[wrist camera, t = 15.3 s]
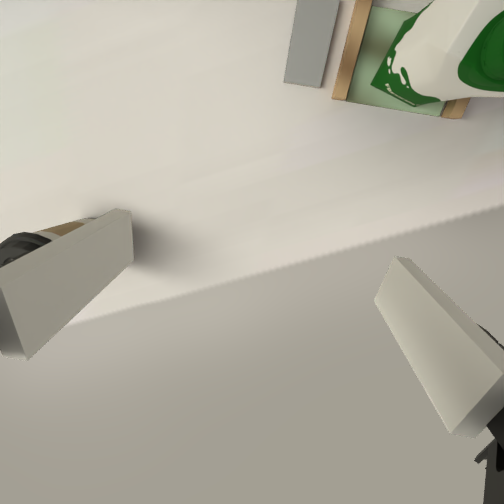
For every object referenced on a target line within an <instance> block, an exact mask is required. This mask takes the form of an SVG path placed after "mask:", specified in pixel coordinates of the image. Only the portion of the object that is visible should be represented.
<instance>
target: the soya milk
mask: <svg viewBox="0 0 504 504" xmlns="http://www.w3.org/2000/svg"><path fill="white" fill-rule="evenodd" d="M370 85H371V86H373V87H375V88H377V89H379V90H381V91H383V92H385V93H387V94H389V95H391V96H393V97H395V98H397V99H398V100H400V101H402V102H404V103H406V104H408V105H410V106H412V107H417V106H420V105H424V104H428V103H435V102H441V101H448V100H455V99H461V98H468V97H504V0H434V1H433V2H431V3H430V4H429V5H428V6H426V7H425V8H424V9H422V10H421V11H420V12H419V13H417V14H416V15H414V16H412V17H410V18H409V19H407V20H405V21H404V22H403V24H402V26H401V28H400V30H399V31H398V33H397V35H396V37H395V39H394V41H393V43H392V45H391V46H390V48H389V50H388V52H387V54H386V56H385V58H384V59H383V61H382V63H381V65H380V67H379V69H378V71H377V73H376V74H375V76H374V78H373V80H372V82H371V84H370Z"/></svg>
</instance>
